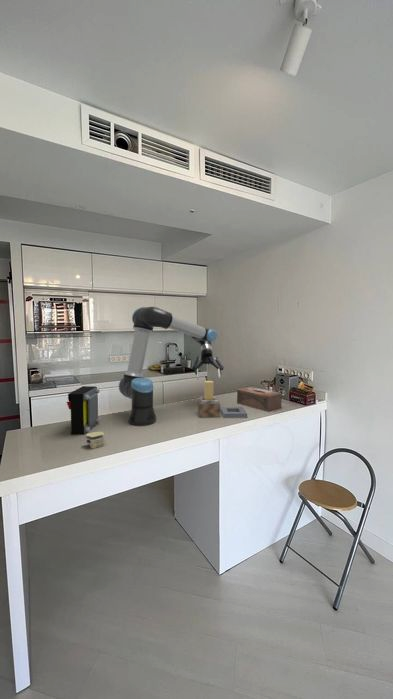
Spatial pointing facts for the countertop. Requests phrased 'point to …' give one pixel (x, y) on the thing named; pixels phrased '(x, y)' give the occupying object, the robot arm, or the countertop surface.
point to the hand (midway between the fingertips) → (208, 378)
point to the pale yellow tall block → (208, 390)
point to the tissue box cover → (259, 398)
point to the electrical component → (83, 409)
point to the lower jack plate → (233, 412)
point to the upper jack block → (208, 407)
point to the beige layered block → (95, 439)
